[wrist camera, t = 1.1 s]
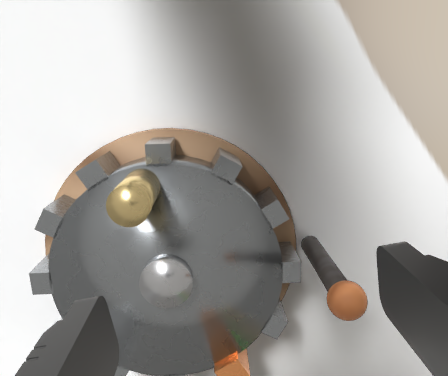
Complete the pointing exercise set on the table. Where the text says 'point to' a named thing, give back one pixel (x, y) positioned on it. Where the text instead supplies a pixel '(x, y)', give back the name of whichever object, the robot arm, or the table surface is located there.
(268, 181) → the sprocket base
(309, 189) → the table surface
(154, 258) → the sprocket wheel
